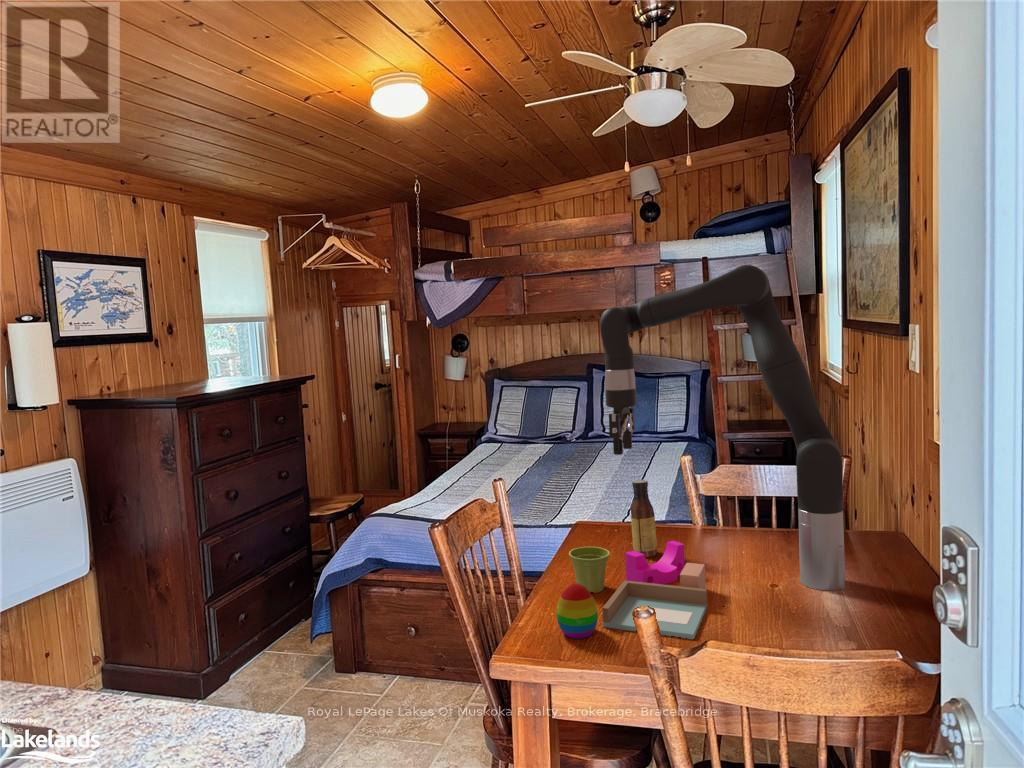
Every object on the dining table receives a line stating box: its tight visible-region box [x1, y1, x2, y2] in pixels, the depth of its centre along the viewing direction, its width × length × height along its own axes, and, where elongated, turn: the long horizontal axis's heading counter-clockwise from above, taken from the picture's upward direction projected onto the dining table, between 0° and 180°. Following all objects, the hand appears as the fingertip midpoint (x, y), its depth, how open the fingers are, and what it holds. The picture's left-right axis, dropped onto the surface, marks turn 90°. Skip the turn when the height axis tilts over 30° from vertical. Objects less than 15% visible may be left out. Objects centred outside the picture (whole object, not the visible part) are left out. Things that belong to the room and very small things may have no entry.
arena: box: [601, 579, 708, 640], centre depth 141 cm, size 18×16×4 cm
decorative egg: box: [556, 582, 599, 640], centre depth 135 cm, size 8×8×10 cm
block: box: [679, 562, 707, 589], centre depth 151 cm, size 4×8×6 cm, turn 155°
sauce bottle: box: [630, 479, 658, 558], centre depth 180 cm, size 6×6×20 cm
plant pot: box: [568, 546, 610, 594], centre depth 158 cm, size 9×9×9 cm
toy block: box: [624, 540, 686, 585], centre depth 162 cm, size 15×6×8 cm, turn 119°
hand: (623, 451), depth 171 cm, fingers open, 8 cm apart
